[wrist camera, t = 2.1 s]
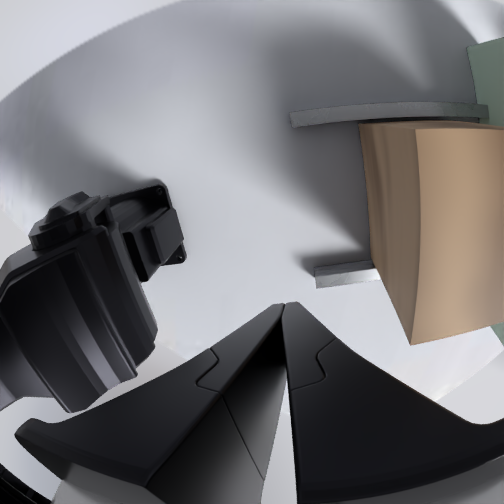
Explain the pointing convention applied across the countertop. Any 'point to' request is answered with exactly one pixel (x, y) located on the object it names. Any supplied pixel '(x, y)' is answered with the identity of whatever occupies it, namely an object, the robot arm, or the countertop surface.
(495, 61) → the backboard
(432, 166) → the walnut block
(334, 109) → the guide rails
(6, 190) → the countertop surface
